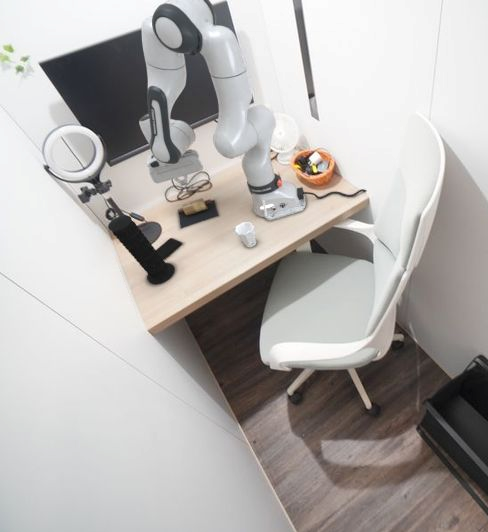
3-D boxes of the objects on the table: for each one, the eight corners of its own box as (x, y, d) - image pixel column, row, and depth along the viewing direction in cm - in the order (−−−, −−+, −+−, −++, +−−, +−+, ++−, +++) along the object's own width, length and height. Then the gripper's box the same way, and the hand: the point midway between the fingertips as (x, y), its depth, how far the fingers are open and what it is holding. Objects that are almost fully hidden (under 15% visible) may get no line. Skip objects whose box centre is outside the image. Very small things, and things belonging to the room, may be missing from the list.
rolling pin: (214, 209, 140) (209, 200, 136) (181, 219, 137) (176, 210, 133) (212, 202, 143) (207, 193, 139) (181, 213, 140) (175, 204, 136)
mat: (214, 200, 144) (213, 199, 144) (218, 215, 137) (218, 215, 137) (178, 212, 142) (178, 211, 141) (181, 228, 134) (180, 227, 134)
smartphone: (140, 262, 122) (170, 237, 129) (141, 264, 122) (171, 238, 130) (152, 268, 119) (182, 242, 127) (153, 269, 119) (183, 243, 127)
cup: (251, 252, 120) (244, 236, 114) (232, 244, 124) (224, 229, 118) (263, 240, 124) (257, 224, 118) (244, 232, 128) (237, 217, 122)
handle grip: (162, 259, 122) (141, 278, 117) (120, 206, 102) (93, 226, 96) (180, 268, 119) (160, 288, 113) (141, 214, 98) (114, 235, 93)
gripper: (194, 144, 130) (207, 173, 141) (142, 158, 126) (160, 187, 137) (196, 151, 126) (209, 180, 137) (143, 166, 122) (161, 195, 133)
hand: (184, 184), depth 137 cm, fingers closed
